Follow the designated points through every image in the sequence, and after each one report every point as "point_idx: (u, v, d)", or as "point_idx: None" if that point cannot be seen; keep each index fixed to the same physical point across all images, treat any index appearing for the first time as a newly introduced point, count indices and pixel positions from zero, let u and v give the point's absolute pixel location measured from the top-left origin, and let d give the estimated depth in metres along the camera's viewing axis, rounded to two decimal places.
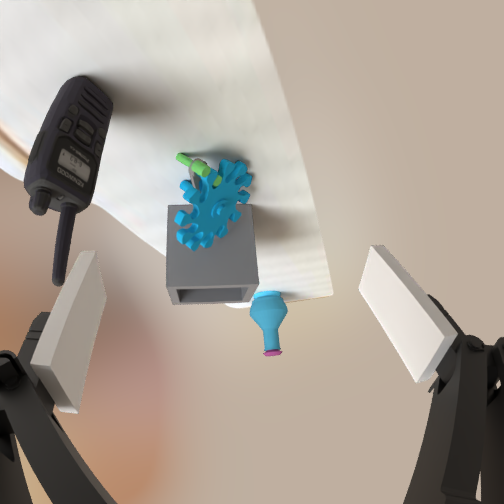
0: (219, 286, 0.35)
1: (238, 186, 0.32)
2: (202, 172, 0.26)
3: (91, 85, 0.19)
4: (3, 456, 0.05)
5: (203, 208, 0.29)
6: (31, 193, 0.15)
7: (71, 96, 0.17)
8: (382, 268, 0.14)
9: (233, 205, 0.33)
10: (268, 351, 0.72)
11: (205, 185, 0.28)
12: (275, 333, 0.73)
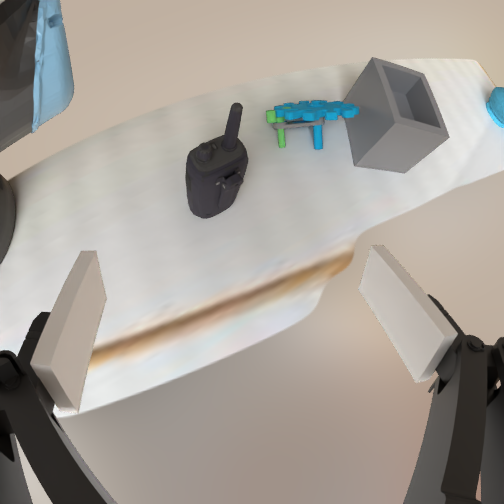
0: (384, 82, 0.29)
1: (303, 103, 0.36)
2: (269, 111, 0.33)
3: None
4: (3, 456, 0.05)
5: (306, 109, 0.32)
6: (204, 167, 0.23)
7: None
8: (382, 268, 0.14)
9: None
10: None
11: None
12: None
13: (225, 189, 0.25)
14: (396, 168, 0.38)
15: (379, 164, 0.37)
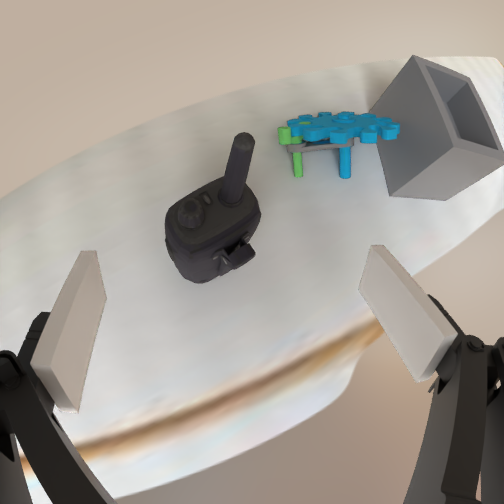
0: (433, 89, 0.21)
1: (325, 115, 0.28)
2: (282, 129, 0.24)
3: None
4: (3, 456, 0.05)
5: (333, 125, 0.24)
6: (192, 236, 0.15)
7: None
8: (382, 268, 0.14)
9: (349, 116, 0.27)
10: None
11: None
12: None
13: (227, 265, 0.16)
14: (437, 196, 0.29)
15: (419, 193, 0.28)
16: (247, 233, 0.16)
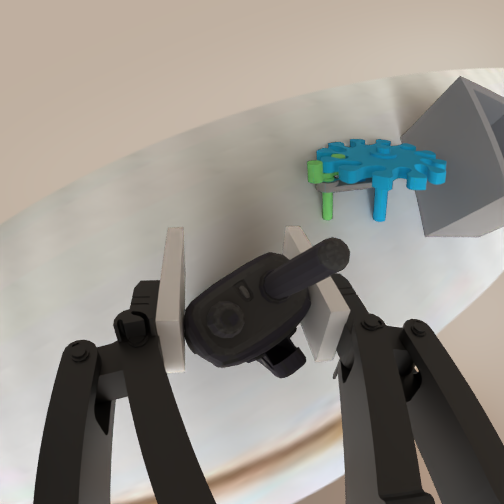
0: (484, 120, 0.17)
1: (359, 145, 0.24)
2: (313, 164, 0.20)
3: None
4: (99, 428, 0.07)
5: (373, 163, 0.20)
6: (226, 346, 0.11)
7: None
8: (292, 247, 0.15)
9: None
10: None
11: None
12: None
13: (267, 368, 0.12)
14: (473, 234, 0.25)
15: (456, 232, 0.24)
16: (294, 331, 0.12)
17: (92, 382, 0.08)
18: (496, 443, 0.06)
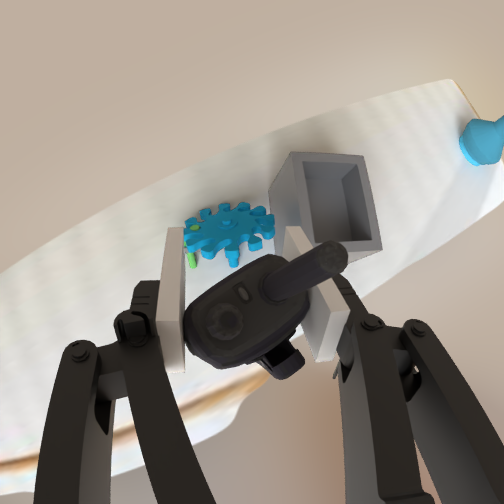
0: (301, 192, 0.29)
1: (219, 212, 0.35)
2: None
3: None
4: (99, 428, 0.07)
5: (211, 235, 0.32)
6: (225, 348, 0.11)
7: None
8: (292, 247, 0.15)
9: (239, 213, 0.35)
10: None
11: (193, 236, 0.33)
12: (498, 122, 0.39)
13: (266, 369, 0.12)
14: None
15: None
16: (294, 333, 0.12)
17: (92, 382, 0.08)
18: (496, 443, 0.06)
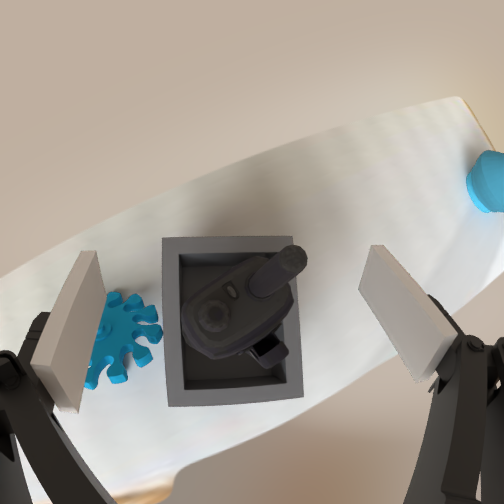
0: (169, 309, 0.18)
1: None
2: None
3: None
4: (3, 456, 0.05)
5: None
6: (216, 339, 0.12)
7: None
8: (382, 268, 0.14)
9: (122, 314, 0.24)
10: None
11: None
12: None
13: (256, 360, 0.14)
14: None
15: None
16: (279, 326, 0.13)
17: None
18: None
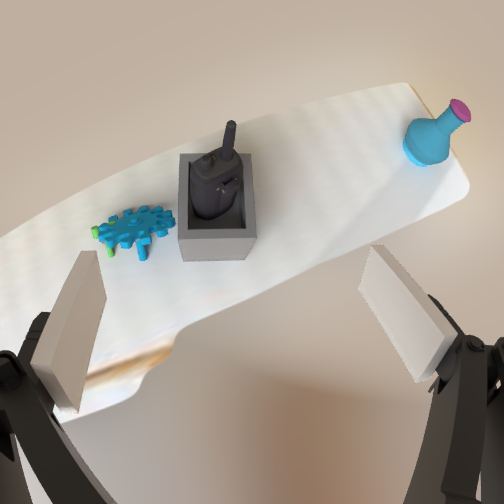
0: (182, 187, 0.33)
1: (136, 212, 0.40)
2: (91, 229, 0.37)
3: None
4: (3, 456, 0.05)
5: (118, 229, 0.36)
6: (205, 175, 0.27)
7: None
8: (382, 268, 0.14)
9: (149, 214, 0.39)
10: (457, 115, 0.39)
11: (108, 229, 0.37)
12: (439, 118, 0.43)
13: (224, 193, 0.29)
14: (229, 258, 0.41)
15: (206, 258, 0.41)
16: (235, 175, 0.29)
17: None
18: None
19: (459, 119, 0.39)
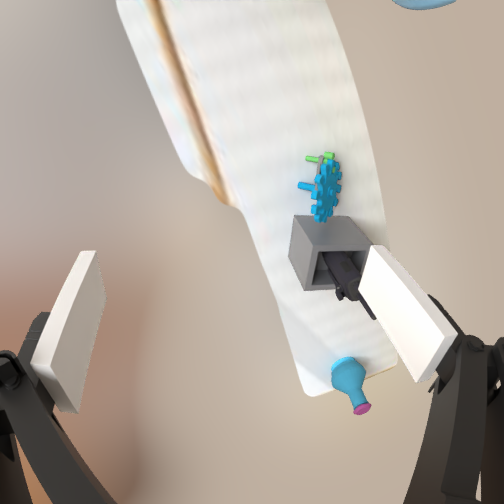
0: (348, 247, 0.46)
1: (337, 186, 0.49)
2: (332, 154, 0.44)
3: None
4: (3, 456, 0.05)
5: (327, 181, 0.45)
6: (350, 285, 0.42)
7: None
8: (382, 268, 0.14)
9: (333, 199, 0.49)
10: (359, 406, 0.65)
11: (328, 168, 0.46)
12: (360, 390, 0.69)
13: (336, 288, 0.44)
14: (291, 249, 0.55)
15: (293, 235, 0.53)
16: (346, 297, 0.44)
17: None
18: None
19: (356, 406, 0.66)
